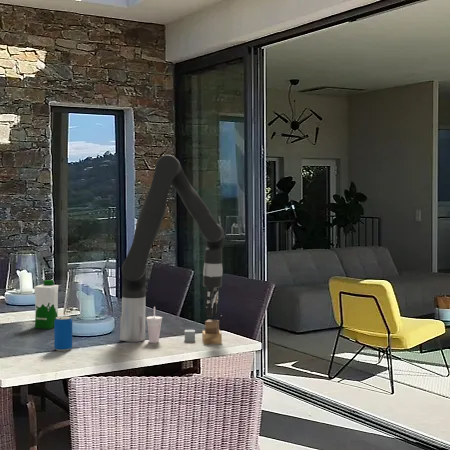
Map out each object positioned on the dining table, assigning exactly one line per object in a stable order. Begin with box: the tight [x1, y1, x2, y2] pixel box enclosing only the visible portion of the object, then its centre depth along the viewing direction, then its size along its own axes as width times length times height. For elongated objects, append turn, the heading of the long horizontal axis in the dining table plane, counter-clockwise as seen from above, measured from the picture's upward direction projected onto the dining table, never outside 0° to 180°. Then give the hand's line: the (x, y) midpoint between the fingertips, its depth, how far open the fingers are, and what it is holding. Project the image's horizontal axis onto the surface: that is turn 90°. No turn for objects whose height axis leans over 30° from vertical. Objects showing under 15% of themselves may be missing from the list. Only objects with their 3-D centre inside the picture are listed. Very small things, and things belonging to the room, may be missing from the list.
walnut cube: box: [204, 319, 220, 334], centre depth 264 cm, size 4×4×4 cm
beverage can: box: [53, 315, 73, 352], centre depth 248 cm, size 6×6×12 cm
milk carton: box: [33, 279, 59, 330], centre depth 288 cm, size 9×9×20 cm
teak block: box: [201, 329, 223, 345], centre depth 264 cm, size 7×7×4 cm
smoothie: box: [145, 306, 163, 344], centre depth 262 cm, size 6×6×14 cm
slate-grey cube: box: [184, 329, 196, 343], centre depth 266 cm, size 4×4×4 cm
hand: (211, 315), depth 264 cm, fingers open, 8 cm apart
